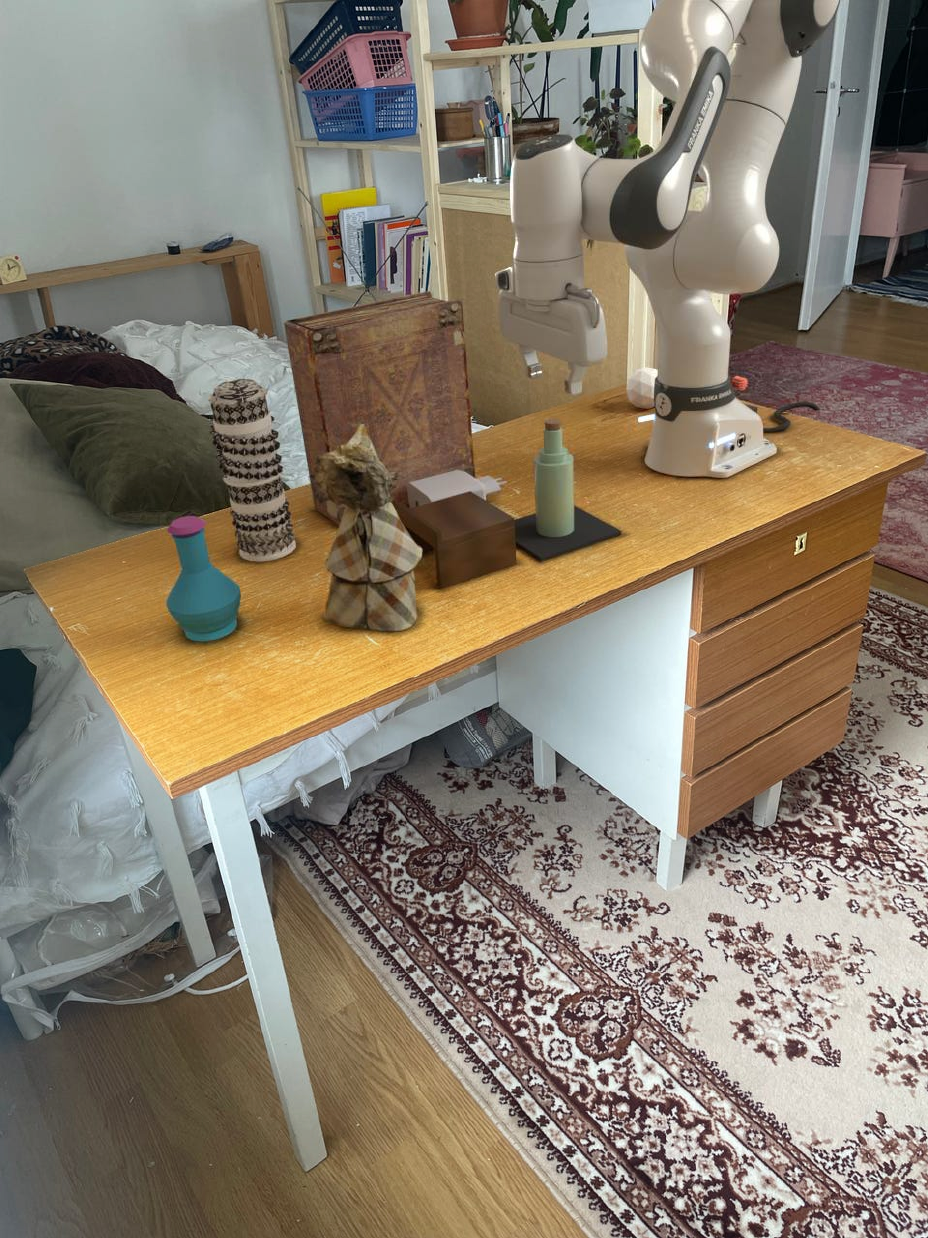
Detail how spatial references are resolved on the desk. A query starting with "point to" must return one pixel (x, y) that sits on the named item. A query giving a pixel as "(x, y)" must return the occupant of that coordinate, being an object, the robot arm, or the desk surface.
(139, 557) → the desk surface
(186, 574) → the perfume bottle
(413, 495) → the charger
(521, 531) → the mat
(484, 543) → the shelf
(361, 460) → the plush toy
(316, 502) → the book
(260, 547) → the decorative candle
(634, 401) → the geometric ball
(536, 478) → the bottle
